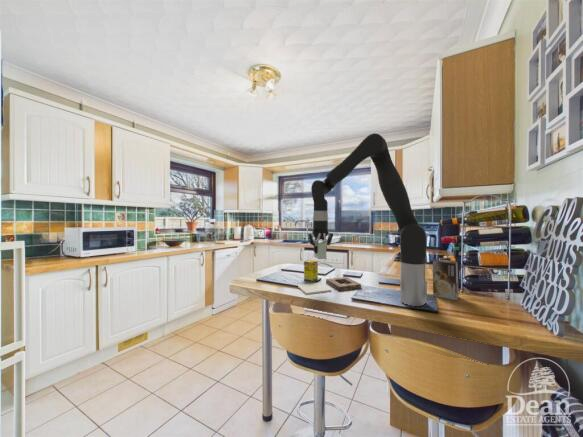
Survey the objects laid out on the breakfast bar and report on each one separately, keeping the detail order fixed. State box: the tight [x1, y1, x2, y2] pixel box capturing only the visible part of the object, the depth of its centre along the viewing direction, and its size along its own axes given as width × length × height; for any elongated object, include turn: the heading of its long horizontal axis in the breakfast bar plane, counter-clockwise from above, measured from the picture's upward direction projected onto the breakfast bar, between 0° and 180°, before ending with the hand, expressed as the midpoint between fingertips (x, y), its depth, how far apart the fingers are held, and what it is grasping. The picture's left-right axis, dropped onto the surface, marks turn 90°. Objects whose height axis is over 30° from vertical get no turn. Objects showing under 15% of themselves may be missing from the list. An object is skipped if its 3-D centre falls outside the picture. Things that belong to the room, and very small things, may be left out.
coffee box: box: [432, 259, 459, 301], centre depth 105 cm, size 9×6×16 cm
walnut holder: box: [325, 276, 362, 292], centre depth 123 cm, size 12×14×2 cm
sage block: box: [313, 240, 327, 260], centre depth 119 cm, size 4×6×8 cm, turn 17°
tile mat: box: [296, 281, 332, 295], centre depth 118 cm, size 13×13×1 cm
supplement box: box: [303, 259, 319, 282], centre depth 133 cm, size 6×6×11 cm
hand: (320, 252), depth 119 cm, fingers closed on sage block, 4 cm apart
